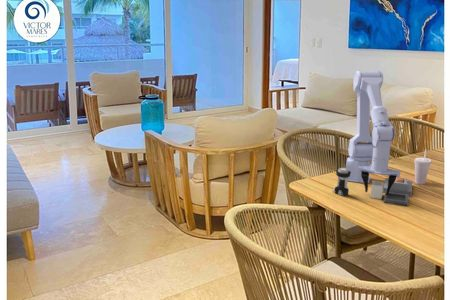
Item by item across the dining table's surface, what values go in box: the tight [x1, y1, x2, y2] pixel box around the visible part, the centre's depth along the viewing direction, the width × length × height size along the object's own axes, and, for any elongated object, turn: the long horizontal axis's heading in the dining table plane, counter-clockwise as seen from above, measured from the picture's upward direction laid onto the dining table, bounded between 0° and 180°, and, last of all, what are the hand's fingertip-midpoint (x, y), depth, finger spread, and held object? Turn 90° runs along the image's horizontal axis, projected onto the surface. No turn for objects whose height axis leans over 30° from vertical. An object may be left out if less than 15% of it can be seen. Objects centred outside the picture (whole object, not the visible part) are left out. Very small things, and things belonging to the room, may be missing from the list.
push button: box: [331, 167, 351, 197], centre depth 177 cm, size 7×5×10 cm
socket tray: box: [383, 192, 409, 207], centre depth 172 cm, size 8×8×1 cm
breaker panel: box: [383, 177, 413, 198], centre depth 183 cm, size 10×12×4 cm
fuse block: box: [370, 180, 385, 200], centre depth 176 cm, size 4×4×6 cm
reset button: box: [395, 177, 404, 183], centre depth 180 cm, size 3×3×3 cm
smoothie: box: [413, 148, 432, 185], centre depth 189 cm, size 6×6×14 cm
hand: (376, 192), depth 176 cm, fingers open, 7 cm apart
